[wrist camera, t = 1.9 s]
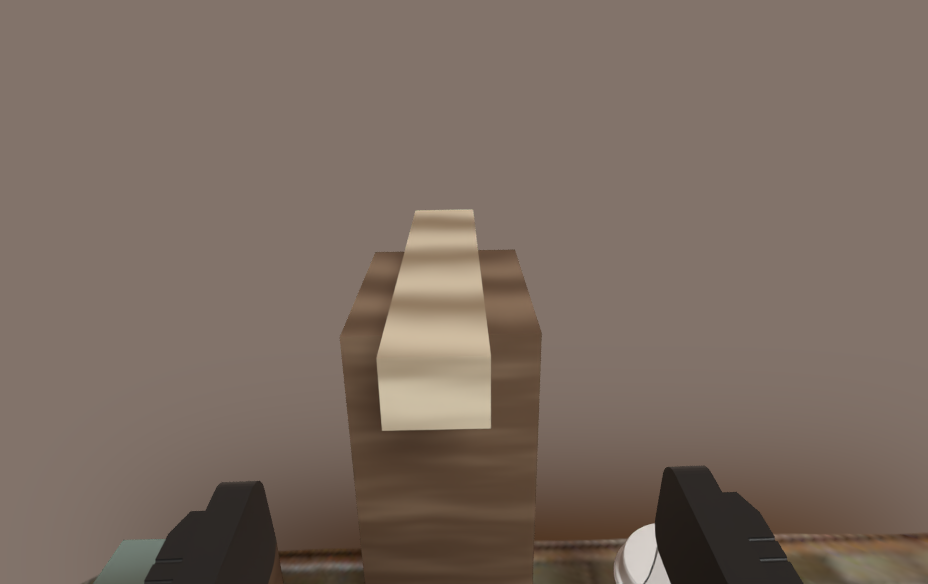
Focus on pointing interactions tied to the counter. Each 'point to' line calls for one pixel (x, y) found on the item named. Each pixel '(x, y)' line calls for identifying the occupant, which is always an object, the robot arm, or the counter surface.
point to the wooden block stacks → (432, 454)
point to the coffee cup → (640, 560)
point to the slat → (437, 331)
